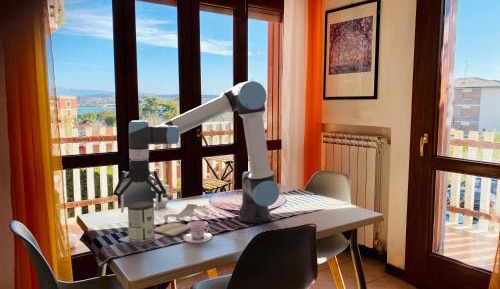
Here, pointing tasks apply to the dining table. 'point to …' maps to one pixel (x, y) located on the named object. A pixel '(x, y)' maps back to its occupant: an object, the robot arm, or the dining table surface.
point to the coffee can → (141, 221)
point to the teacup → (197, 232)
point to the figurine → (163, 200)
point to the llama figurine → (186, 212)
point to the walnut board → (172, 229)
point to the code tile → (126, 239)
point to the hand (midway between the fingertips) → (140, 211)
